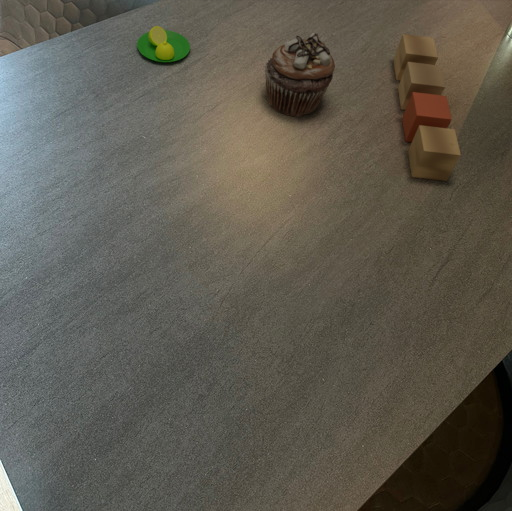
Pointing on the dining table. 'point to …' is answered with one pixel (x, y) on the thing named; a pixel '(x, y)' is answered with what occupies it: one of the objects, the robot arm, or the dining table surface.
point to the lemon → (163, 45)
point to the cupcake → (298, 75)
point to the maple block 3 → (433, 153)
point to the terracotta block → (425, 113)
